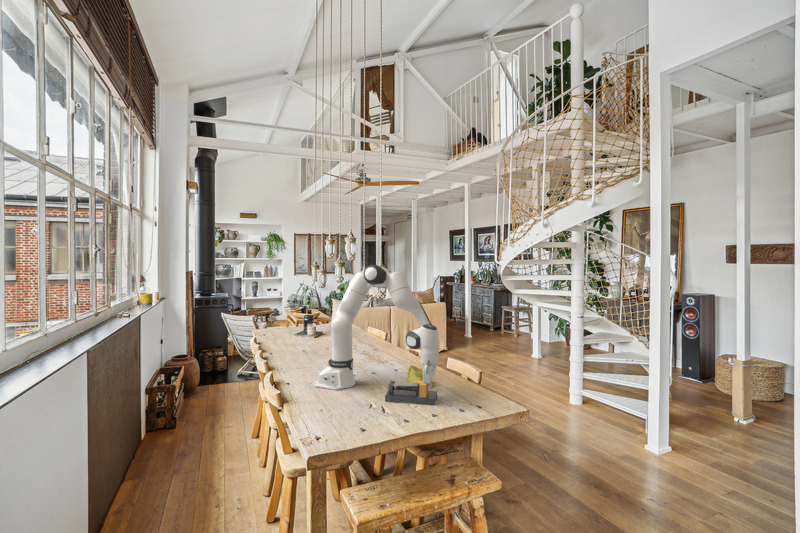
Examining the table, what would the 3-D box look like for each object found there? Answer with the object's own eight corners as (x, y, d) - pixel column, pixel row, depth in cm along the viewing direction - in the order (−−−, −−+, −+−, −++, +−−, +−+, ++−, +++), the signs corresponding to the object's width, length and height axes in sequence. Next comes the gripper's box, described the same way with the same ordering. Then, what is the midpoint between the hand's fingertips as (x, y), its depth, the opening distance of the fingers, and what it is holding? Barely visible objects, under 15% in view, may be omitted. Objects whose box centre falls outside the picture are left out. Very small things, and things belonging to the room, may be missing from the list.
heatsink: (385, 401, 189) (384, 386, 189) (390, 393, 200) (390, 379, 200) (434, 405, 184) (434, 389, 184) (437, 397, 195) (437, 382, 195)
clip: (413, 396, 187) (413, 384, 187) (416, 389, 197) (416, 378, 197) (425, 397, 186) (425, 385, 185) (428, 390, 195) (428, 378, 195)
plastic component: (436, 382, 210) (420, 376, 207) (430, 395, 210) (414, 389, 207) (423, 369, 229) (408, 363, 226) (417, 381, 229) (403, 375, 226)
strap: (389, 386, 193) (389, 384, 193) (391, 385, 195) (390, 382, 195) (417, 386, 190) (417, 384, 190) (418, 384, 193) (417, 382, 193)
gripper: (433, 364, 179) (433, 394, 179) (438, 353, 199) (438, 380, 199) (419, 364, 180) (419, 393, 181) (426, 353, 200) (426, 380, 201)
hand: (429, 387), depth 190 cm, fingers closed
